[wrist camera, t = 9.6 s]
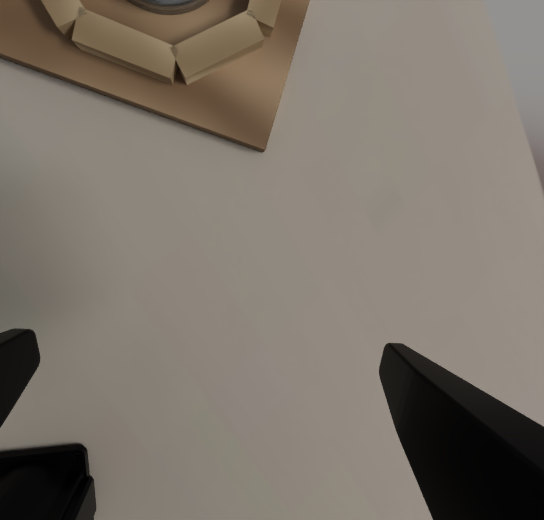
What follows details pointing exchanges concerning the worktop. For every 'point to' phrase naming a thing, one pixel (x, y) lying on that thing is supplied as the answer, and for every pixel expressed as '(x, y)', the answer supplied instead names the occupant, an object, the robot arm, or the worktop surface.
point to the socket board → (166, 57)
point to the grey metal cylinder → (168, 6)
